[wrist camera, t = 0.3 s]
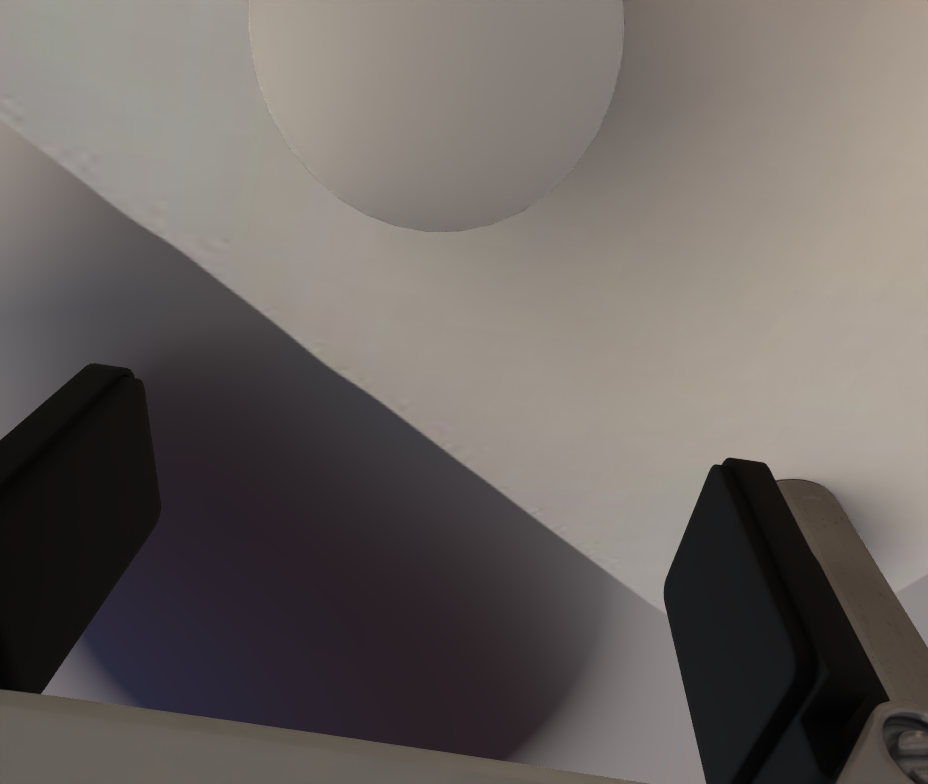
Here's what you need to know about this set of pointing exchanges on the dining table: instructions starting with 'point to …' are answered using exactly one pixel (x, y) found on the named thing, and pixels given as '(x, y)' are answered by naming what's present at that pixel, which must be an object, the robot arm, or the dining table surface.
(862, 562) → the thermos bottle
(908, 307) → the dining table surface
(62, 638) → the robot arm
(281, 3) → the cylindrical container
